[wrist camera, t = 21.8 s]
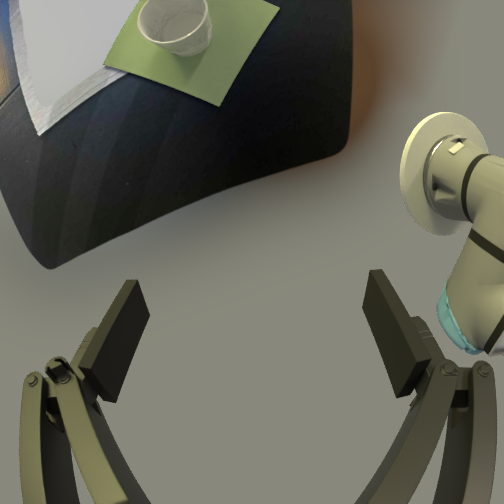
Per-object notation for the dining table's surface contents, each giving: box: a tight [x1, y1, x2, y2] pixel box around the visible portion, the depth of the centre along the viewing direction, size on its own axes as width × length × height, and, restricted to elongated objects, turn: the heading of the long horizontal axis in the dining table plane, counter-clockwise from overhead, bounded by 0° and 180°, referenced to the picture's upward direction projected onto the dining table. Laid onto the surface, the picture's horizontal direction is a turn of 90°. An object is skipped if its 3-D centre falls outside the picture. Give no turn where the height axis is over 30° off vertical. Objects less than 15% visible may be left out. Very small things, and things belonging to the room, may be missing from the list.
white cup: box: [137, 0, 212, 57], centre depth 25 cm, size 8×8×10 cm
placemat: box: [103, 0, 280, 107], centre depth 29 cm, size 20×18×1 cm
